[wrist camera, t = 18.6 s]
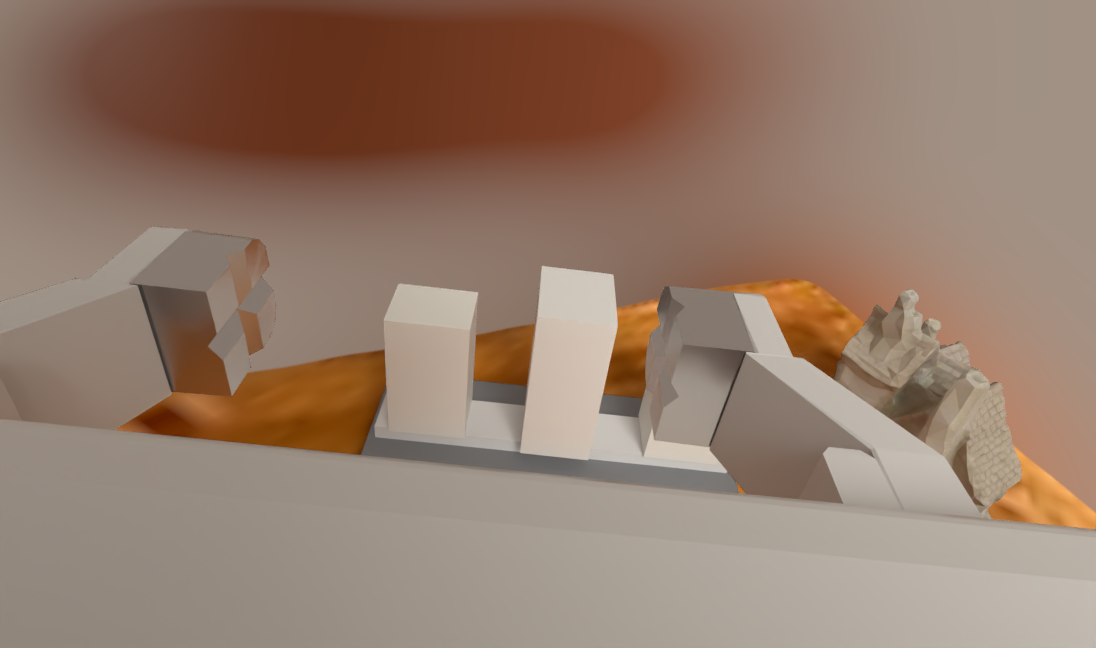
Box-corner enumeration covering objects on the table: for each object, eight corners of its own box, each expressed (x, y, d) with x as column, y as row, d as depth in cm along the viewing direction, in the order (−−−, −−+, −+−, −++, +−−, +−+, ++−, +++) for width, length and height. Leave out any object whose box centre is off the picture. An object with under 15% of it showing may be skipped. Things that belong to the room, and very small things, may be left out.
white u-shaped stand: (355, 489, 41) (341, 349, 34) (391, 386, 49) (386, 257, 42) (737, 527, 42) (797, 398, 35) (710, 420, 50) (754, 299, 43)
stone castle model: (905, 585, 39) (1044, 400, 31) (749, 412, 52) (820, 248, 44) (1059, 537, 45) (1209, 371, 37) (886, 392, 58) (971, 245, 50)
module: (520, 452, 41) (537, 316, 35) (525, 395, 46) (542, 265, 39) (588, 460, 41) (617, 325, 35) (587, 402, 46) (613, 273, 40)
